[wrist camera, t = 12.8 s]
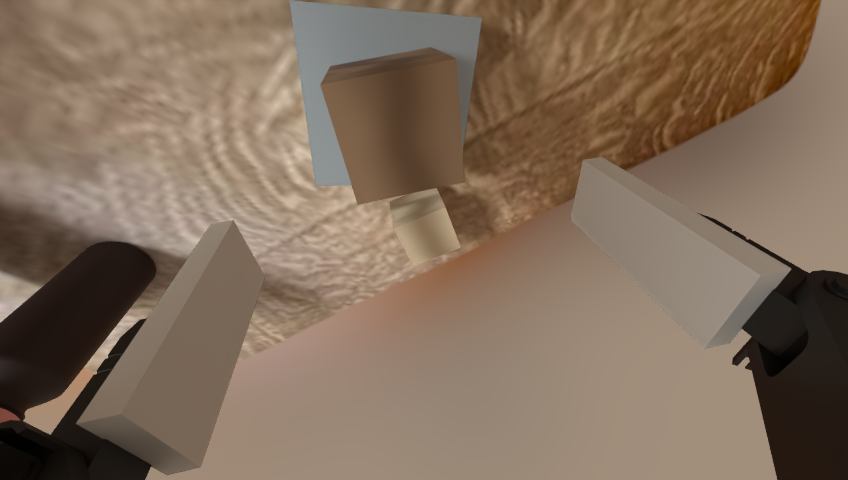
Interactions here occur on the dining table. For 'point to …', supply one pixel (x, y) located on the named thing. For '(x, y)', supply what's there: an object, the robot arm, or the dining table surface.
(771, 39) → the dining table surface
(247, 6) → the dining table surface
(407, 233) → the maple cube
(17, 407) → the bottle
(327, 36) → the slate block
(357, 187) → the walnut cube
